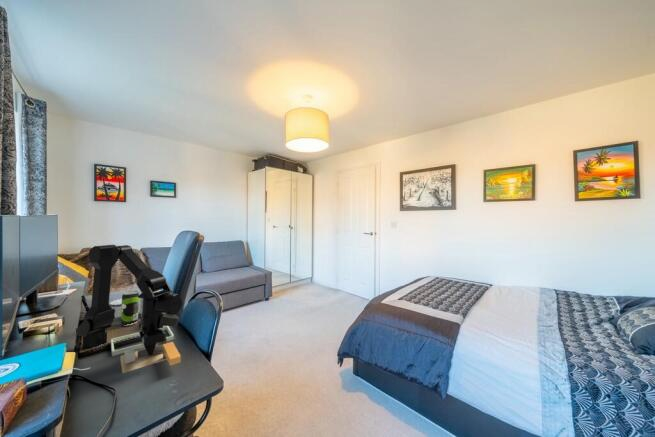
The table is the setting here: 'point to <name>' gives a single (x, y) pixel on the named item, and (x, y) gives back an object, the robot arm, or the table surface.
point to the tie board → (143, 360)
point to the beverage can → (129, 307)
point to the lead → (140, 353)
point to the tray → (138, 344)
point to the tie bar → (171, 353)
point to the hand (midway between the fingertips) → (150, 353)
